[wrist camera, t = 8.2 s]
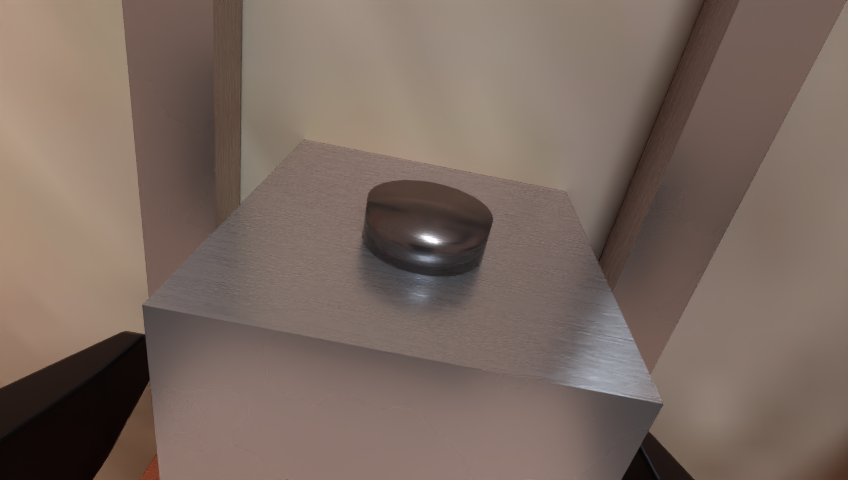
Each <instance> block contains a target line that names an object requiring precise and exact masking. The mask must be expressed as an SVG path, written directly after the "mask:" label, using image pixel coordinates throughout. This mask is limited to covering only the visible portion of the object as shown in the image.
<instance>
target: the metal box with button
mask: <svg viewBox="0 0 848 480" xmlns="http://www.w3.org/2000/svg"><path fill="white" fill-rule="evenodd" d="M142 306H143V316H144V326H145V336H146V346H147V356H148V366H149V376H150V386H151V396H152V406H153V416H154V426H155V436H156V446H157V456H158V466H159V476H160V480H621V479H622V477H623V476H624V474H625V472H626V470H627V468H628V467H629V465H630V463H631V461H632V460H633V458H634V456H635V454H636V452H637V451H638V449H639V447H640V445H641V443H642V442H643V440H644V438H645V436H646V434H647V433H648V431H649V429H650V427H651V425H652V424H653V422H654V420H655V418H656V416H657V415H658V413H659V411H660V409H661V407H662V406H663V402H662V400H661V398H660V396H659V393H658V391H657V389H656V387H655V385H654V383H653V380H652V378H651V376H650V374H649V372H648V370H647V367H646V365H645V363H644V361H643V359H642V356H641V354H640V352H639V350H638V348H637V346H636V343H635V341H634V339H633V337H632V335H631V332H630V330H629V328H628V326H627V324H626V322H625V319H624V317H623V315H622V313H621V311H620V309H619V306H618V304H617V302H616V300H615V298H614V295H613V293H612V291H611V289H610V287H609V285H608V282H607V280H606V278H605V276H604V274H603V272H602V269H601V267H600V265H599V263H598V261H597V258H596V256H595V254H594V252H593V250H592V248H591V245H590V243H589V241H588V239H587V237H586V235H585V232H584V230H583V228H582V226H581V224H580V221H579V219H578V217H577V215H576V213H575V211H574V208H573V206H572V204H571V202H570V200H569V197H568V195H567V193H566V191H562V190H557V189H552V188H547V187H542V186H537V185H532V184H527V183H522V182H517V181H511V180H506V179H501V178H496V177H491V176H486V175H481V174H476V173H471V172H466V171H461V170H456V169H451V168H446V167H441V166H436V165H431V164H426V163H421V162H416V161H411V160H406V159H400V158H395V157H390V156H385V155H380V154H375V153H370V152H365V151H360V150H355V149H350V148H345V147H340V146H335V145H330V144H325V143H320V142H315V141H310V140H305V139H304V140H303V141H302V142H301V143H300V144H299V145H298V146H297V147H296V148H295V149H294V150H293V151H292V152H291V153H290V154H289V155H288V156H287V157H286V158H285V159H284V160H283V161H282V162H281V163H280V165H279V166H278V167H277V168H276V169H275V170H274V171H273V172H272V173H271V174H270V175H269V176H268V177H267V178H266V179H265V180H264V181H263V182H262V183H261V184H260V185H259V186H258V187H257V188H256V189H255V190H254V191H253V192H252V193H251V194H250V195H249V196H248V197H247V198H246V199H245V200H244V201H243V202H242V203H241V204H240V205H239V206H238V208H237V209H236V210H235V211H234V212H233V213H232V214H231V215H230V216H229V217H228V218H227V219H226V220H225V221H224V222H223V223H222V224H221V225H220V226H219V227H218V228H217V229H216V230H215V231H214V232H213V233H212V234H211V235H210V236H209V237H208V238H207V239H206V240H205V241H204V242H203V243H202V244H201V245H200V246H199V247H198V248H197V249H196V251H195V252H194V253H193V254H192V255H191V256H190V257H189V258H188V259H187V260H186V261H185V262H184V263H183V264H182V265H181V266H180V267H179V268H178V269H177V270H176V271H175V272H174V273H173V274H172V275H171V276H170V277H169V278H168V279H167V280H166V281H165V282H164V283H163V284H162V285H161V286H160V287H159V288H158V289H157V290H156V291H155V292H154V294H153V295H152V296H151V297H150V298H149V299H148V300H147V301H146V302H145V303H144V304H143V305H142Z"/></svg>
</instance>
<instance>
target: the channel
mask: <svg viewBox="0 0 848 480" xmlns="http://www.w3.org/2000/svg"><path fill="white" fill-rule="evenodd" d="M846 1H847V0H705V2H704V4H703V6H702V9H701V11H700V14H699V16H698V19H697V21H696V24H695V26H694V29H693V31H692V34H691V36H690V39H689V41H688V43H687V46H686V48H685V51H684V53H683V56H682V58H681V61H680V63H679V66H678V68H677V71H676V73H675V76H674V78H673V81H672V83H671V85H670V88H669V90H668V93H667V95H666V98H665V100H664V103H663V105H662V108H661V110H660V113H659V115H658V118H657V120H656V123H655V125H654V127H653V130H652V132H651V135H650V137H649V140H648V142H647V145H646V147H645V150H644V152H643V155H642V157H641V160H640V162H639V164H638V167H637V169H636V172H635V174H634V177H633V179H632V182H631V184H630V187H629V189H628V192H627V194H626V197H625V199H624V202H623V204H622V206H621V209H620V211H619V214H618V216H617V219H616V221H615V224H614V226H613V229H612V231H611V234H610V236H609V239H608V241H607V244H606V246H605V248H604V251H603V253H602V256H601V258H600V261H599V265H600V267H601V269H602V272H603V274H604V276H605V278H606V280H607V282H608V285H609V287H610V289H611V291H612V293H613V295H614V298H615V300H616V302H617V304H618V306H619V309H620V311H621V313H622V315H623V317H624V319H625V322H626V324H627V326H628V328H629V330H630V332H631V335H632V337H633V339H634V341H635V343H636V346H637V348H638V350H639V352H640V354H641V356H642V359H643V361H644V363H645V365H646V367H647V370H648V372H649V374H651V372H652V370H653V368H654V366H655V365H656V363H657V361H658V359H659V357H660V355H661V353H662V351H663V349H664V347H665V346H666V344H667V342H668V340H669V338H670V336H671V334H672V332H673V330H674V328H675V326H676V325H677V323H678V321H679V319H680V317H681V315H682V313H683V311H684V309H685V307H686V306H687V304H688V302H689V300H690V298H691V296H692V294H693V292H694V290H695V288H696V287H697V285H698V283H699V281H700V279H701V277H702V275H703V273H704V271H705V269H706V268H707V266H708V264H709V262H710V260H711V258H712V256H713V254H714V252H715V250H716V248H717V247H718V245H719V243H720V241H721V239H722V237H723V235H724V233H725V231H726V229H727V228H728V226H729V224H730V222H731V220H732V218H733V216H734V214H735V212H736V210H737V209H738V207H739V205H740V203H741V201H742V199H743V197H744V195H745V193H746V191H747V189H748V188H749V186H750V184H751V182H752V180H753V178H754V176H755V174H756V172H757V170H758V169H759V167H760V165H761V163H762V161H763V159H764V157H765V155H766V153H767V151H768V150H769V148H770V146H771V144H772V142H773V140H774V138H775V136H776V134H777V132H778V131H779V129H780V127H781V125H782V123H783V121H784V119H785V117H786V115H787V113H788V111H789V110H790V108H791V106H792V104H793V102H794V100H795V98H796V96H797V94H798V92H799V91H800V89H801V87H802V85H803V83H804V81H805V79H806V77H807V75H808V73H809V72H810V70H811V68H812V66H813V64H814V62H815V60H816V58H817V56H818V54H819V52H820V51H821V49H822V47H823V45H824V43H825V41H826V39H827V37H828V35H829V33H830V32H831V30H832V28H833V26H834V24H835V22H836V20H837V18H838V16H839V14H840V13H841V11H842V9H843V7H844V5H845V3H846ZM122 7H123V18H124V29H125V40H126V51H127V62H128V73H129V84H130V95H131V106H132V117H133V128H134V140H135V151H136V162H137V173H138V184H139V195H140V206H141V217H142V228H143V239H144V250H145V261H146V272H147V283H148V294H149V298H150V297H151V296H152V295H153V294H154V292H155V291H156V290H157V289H158V288H159V287H160V286H161V285H162V284H163V283H164V282H165V281H166V280H167V279H168V278H169V277H170V276H171V275H172V274H173V273H174V272H175V271H176V270H177V269H178V268H179V267H180V266H181V265H182V264H183V263H184V262H185V261H186V260H187V259H188V258H189V257H190V256H191V255H192V254H193V253H194V252H195V251H196V249H197V248H198V247H199V246H200V245H201V244H202V243H203V242H204V241H205V240H206V239H207V238H208V237H209V236H210V235H211V234H212V233H213V232H214V231H215V230H216V229H217V228H218V227H219V226H220V225H221V224H222V223H223V222H224V221H225V220H226V219H227V218H228V217H229V216H230V215H231V214H232V213H233V212H234V211H235V210H236V209H237V208H238V206H239V205H240V134H241V47H242V0H122ZM140 480H160V476H159V466H158V456H157V454H156V456H155V457H154V459H153V460H152V462H151V463H150V465H149V467H148V468H147V470H146V471H145V473H144V474H143V476H142V477H141V479H140Z"/></svg>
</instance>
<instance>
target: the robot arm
mask: <svg viewBox="0 0 848 480" xmlns="http://www.w3.org/2000/svg"><path fill="white" fill-rule="evenodd" d="M149 380H150V376H149V366H148V356H147V346H146V336H145V334H140V333H135V332H130V331H124V332H121V333H118V334H116V335H114V336H112V337H110V338H108V339H106V340H103V341H101V342H99V343H97V344H95V345H93V346H90V347H88V348H86V349H84V350H82V351H80V352H77V353H75V354H73V355H71V356H69V357H67V358H65V359H62V360H60V361H58V362H56V363H54V364H52V365H49V366H47V367H45V368H43V369H41V370H39V371H37V372H34V373H32V374H30V375H28V376H26V377H24V378H21V379H19V380H17V381H15V382H13V383H11V384H9V385H6V386H4V387H2V388H0V480H93V478H94V477H95V476H96V474H97V473H98V471H99V470H100V468H101V467H102V465H103V463H104V462H105V460H106V459H107V457H108V456H109V454H110V452H111V450H112V449H113V447H114V445H115V443H116V442H117V440H118V438H119V436H120V434H121V432H122V430H123V429H124V427H125V425H126V423H127V421H128V419H129V417H130V416H131V414H132V412H133V410H134V408H135V406H136V404H137V403H138V401H139V399H140V397H141V395H142V393H143V391H144V390H145V388H146V386H147V384H148V382H149ZM621 480H694V479H693V478H692V476H691V475H690V474H689V473H688V472H687V471H686V470H685V469H684V468H683V467H682V466H681V465H680V464H679V463H678V462H677V460H676V459H675V458H674V457H673V456H672V455H671V454H670V453H669V452H668V451H667V450H666V449H665V448H664V447H663V446H662V444H661V443H660V442H659V441H658V440H657V439H656V438H655V437H654V436H653V435H652V434H651V433H650V432H649V431H648V433H647V434H646V436H645V438H644V440H643V442H642V443H641V445H640V447H639V449H638V451H637V452H636V454H635V456H634V458H633V460H632V461H631V463H630V465H629V467H628V468H627V470H626V472H625V474H624V476H623V477H622V479H621Z"/></svg>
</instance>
